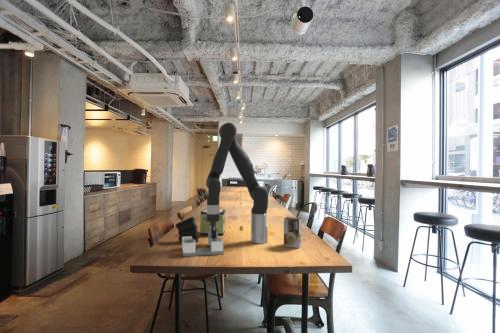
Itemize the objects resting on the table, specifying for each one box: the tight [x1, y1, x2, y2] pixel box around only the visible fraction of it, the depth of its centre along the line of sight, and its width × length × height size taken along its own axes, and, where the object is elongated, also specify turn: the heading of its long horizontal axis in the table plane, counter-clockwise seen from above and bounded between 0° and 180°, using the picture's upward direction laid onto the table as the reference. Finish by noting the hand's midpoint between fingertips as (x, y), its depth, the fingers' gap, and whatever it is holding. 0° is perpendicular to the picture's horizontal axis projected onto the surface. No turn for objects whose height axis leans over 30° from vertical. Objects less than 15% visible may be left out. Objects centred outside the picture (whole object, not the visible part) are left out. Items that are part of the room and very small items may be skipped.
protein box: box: [199, 208, 226, 237], centre depth 176 cm, size 10×16×16 cm
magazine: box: [175, 216, 200, 244], centre depth 155 cm, size 4×13×15 cm, turn 81°
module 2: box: [207, 232, 219, 247], centre depth 148 cm, size 5×4×7 cm
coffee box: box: [283, 216, 303, 249], centre depth 150 cm, size 9×6×16 cm
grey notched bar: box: [182, 237, 224, 258], centre depth 135 cm, size 20×7×7 cm, turn 104°
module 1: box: [181, 236, 193, 250], centre depth 143 cm, size 5×4×6 cm
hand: (213, 242), depth 148 cm, fingers closed on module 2, 4 cm apart
